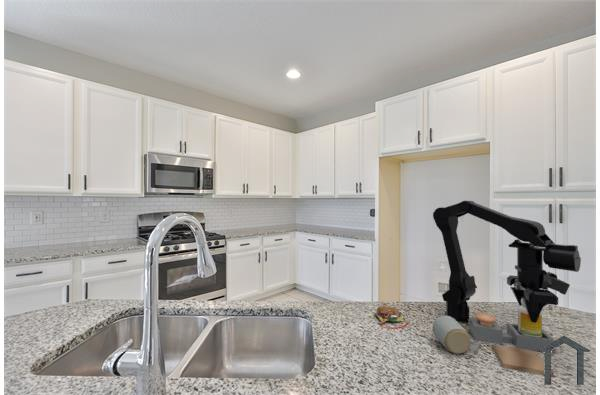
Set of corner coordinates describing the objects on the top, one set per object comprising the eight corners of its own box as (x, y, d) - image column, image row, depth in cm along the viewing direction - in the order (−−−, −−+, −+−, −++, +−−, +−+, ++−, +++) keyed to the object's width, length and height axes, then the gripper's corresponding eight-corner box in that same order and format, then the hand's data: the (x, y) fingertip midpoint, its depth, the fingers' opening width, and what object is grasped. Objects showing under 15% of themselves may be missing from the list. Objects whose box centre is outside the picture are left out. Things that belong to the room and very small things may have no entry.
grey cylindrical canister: (445, 355, 74) (445, 326, 74) (431, 340, 82) (432, 314, 82) (485, 357, 74) (486, 328, 74) (468, 342, 82) (468, 315, 82)
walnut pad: (503, 367, 69) (503, 363, 69) (491, 347, 78) (491, 344, 78) (553, 376, 65) (553, 372, 65) (535, 355, 75) (535, 351, 75)
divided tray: (475, 341, 82) (475, 327, 82) (469, 328, 90) (469, 316, 90) (555, 354, 75) (555, 339, 75) (541, 339, 83) (541, 326, 83)
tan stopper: (477, 336, 83) (477, 317, 84) (473, 328, 88) (473, 311, 88) (497, 339, 82) (497, 320, 82) (492, 331, 86) (492, 313, 86)
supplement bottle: (546, 339, 78) (546, 304, 78) (524, 337, 79) (524, 302, 79) (534, 330, 83) (534, 298, 83) (514, 328, 84) (514, 296, 84)
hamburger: (361, 313, 103) (361, 297, 103) (398, 312, 104) (398, 296, 104) (373, 330, 89) (373, 311, 89) (416, 329, 90) (416, 311, 90)
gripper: (584, 275, 70) (584, 337, 69) (549, 260, 87) (549, 310, 87) (529, 270, 74) (529, 330, 73) (506, 257, 91) (506, 305, 91)
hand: (529, 318), depth 81 cm, fingers closed on supplement bottle, 5 cm apart
